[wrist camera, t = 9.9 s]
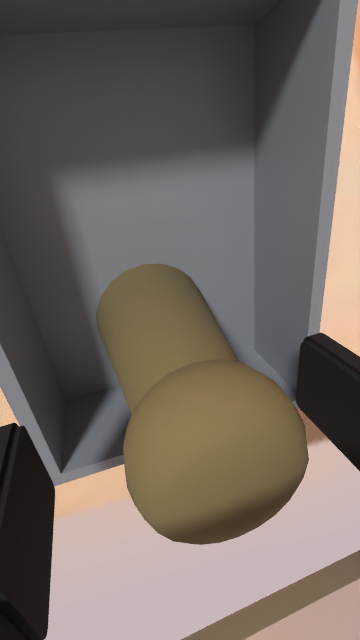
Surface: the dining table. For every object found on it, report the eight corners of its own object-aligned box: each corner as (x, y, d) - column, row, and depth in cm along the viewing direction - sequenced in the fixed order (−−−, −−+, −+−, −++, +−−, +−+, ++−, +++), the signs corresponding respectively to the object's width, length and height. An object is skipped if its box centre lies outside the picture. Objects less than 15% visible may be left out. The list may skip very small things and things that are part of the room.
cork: (154, 379, 19) (226, 595, 9) (71, 324, 16) (50, 560, 6) (223, 309, 18) (382, 465, 8) (150, 238, 15) (266, 353, 5)
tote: (60, 401, 18) (51, 487, 13) (-90, 25, 10) (-253, -114, 5) (256, 348, 21) (310, 403, 16) (257, 13, 13) (368, -89, 8)
